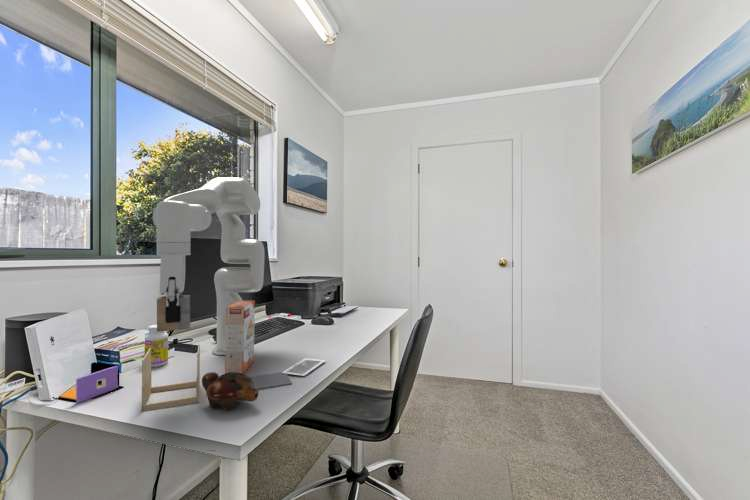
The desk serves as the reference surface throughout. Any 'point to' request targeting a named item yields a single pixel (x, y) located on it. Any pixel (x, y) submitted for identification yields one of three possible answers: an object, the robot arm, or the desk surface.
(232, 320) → the cracker box
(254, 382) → the rubber mat
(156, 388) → the wooden rack
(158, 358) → the supplement bottle
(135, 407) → the desk surface
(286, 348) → the desk surface
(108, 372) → the toy room diorama
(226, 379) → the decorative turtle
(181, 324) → the box
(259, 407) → the desk surface
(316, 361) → the touchpad
